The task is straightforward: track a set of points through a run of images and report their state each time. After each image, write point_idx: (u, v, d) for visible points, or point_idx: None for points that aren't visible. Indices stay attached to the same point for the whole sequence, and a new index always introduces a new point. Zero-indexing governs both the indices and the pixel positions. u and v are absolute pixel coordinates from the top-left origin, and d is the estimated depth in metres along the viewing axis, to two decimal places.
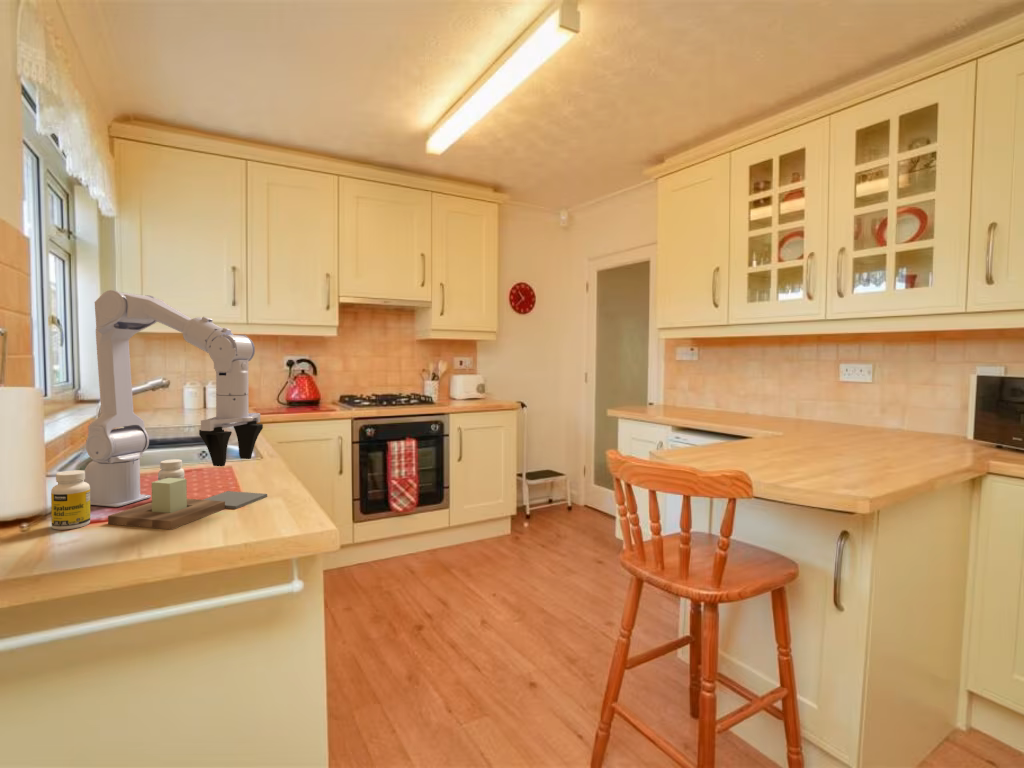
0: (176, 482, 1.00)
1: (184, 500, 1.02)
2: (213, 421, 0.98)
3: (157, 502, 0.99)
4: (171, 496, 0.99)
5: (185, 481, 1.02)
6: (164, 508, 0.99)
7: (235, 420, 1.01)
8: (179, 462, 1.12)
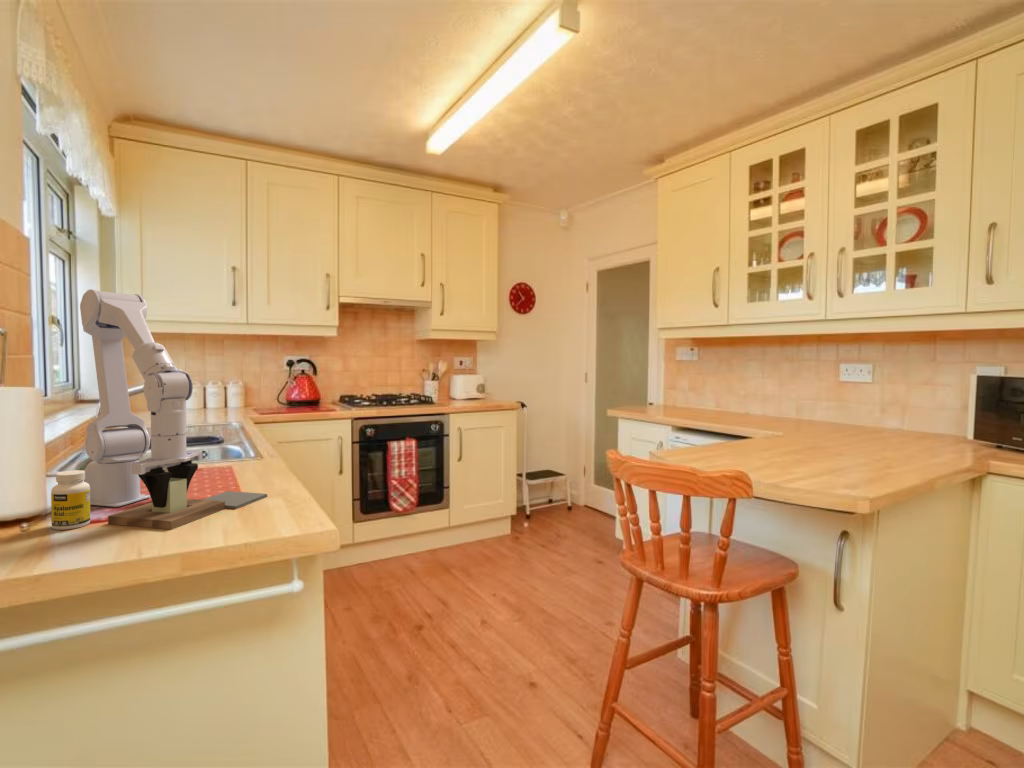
0: (176, 482, 1.00)
1: (184, 500, 1.02)
2: (144, 464, 0.94)
3: None
4: (171, 496, 0.99)
5: (185, 481, 1.02)
6: (164, 508, 0.99)
7: (170, 461, 0.98)
8: None
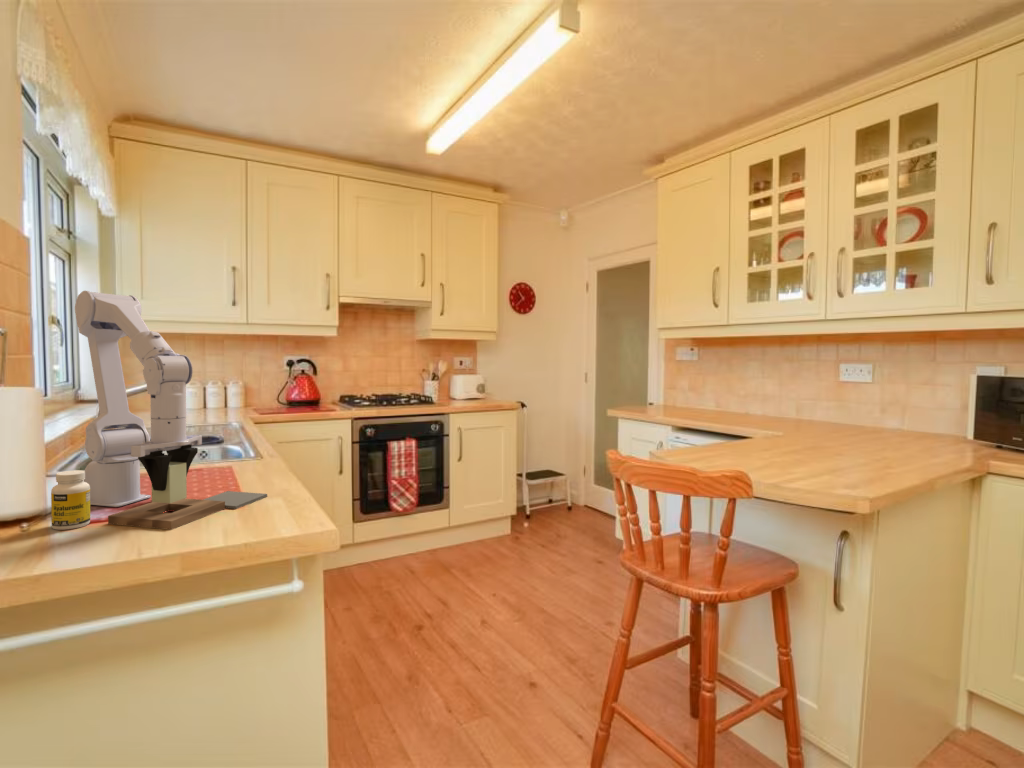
0: (176, 465, 1.00)
1: (184, 484, 1.02)
2: (144, 446, 0.94)
3: None
4: (171, 479, 0.99)
5: (185, 465, 1.02)
6: (164, 491, 0.99)
7: (170, 444, 0.98)
8: None
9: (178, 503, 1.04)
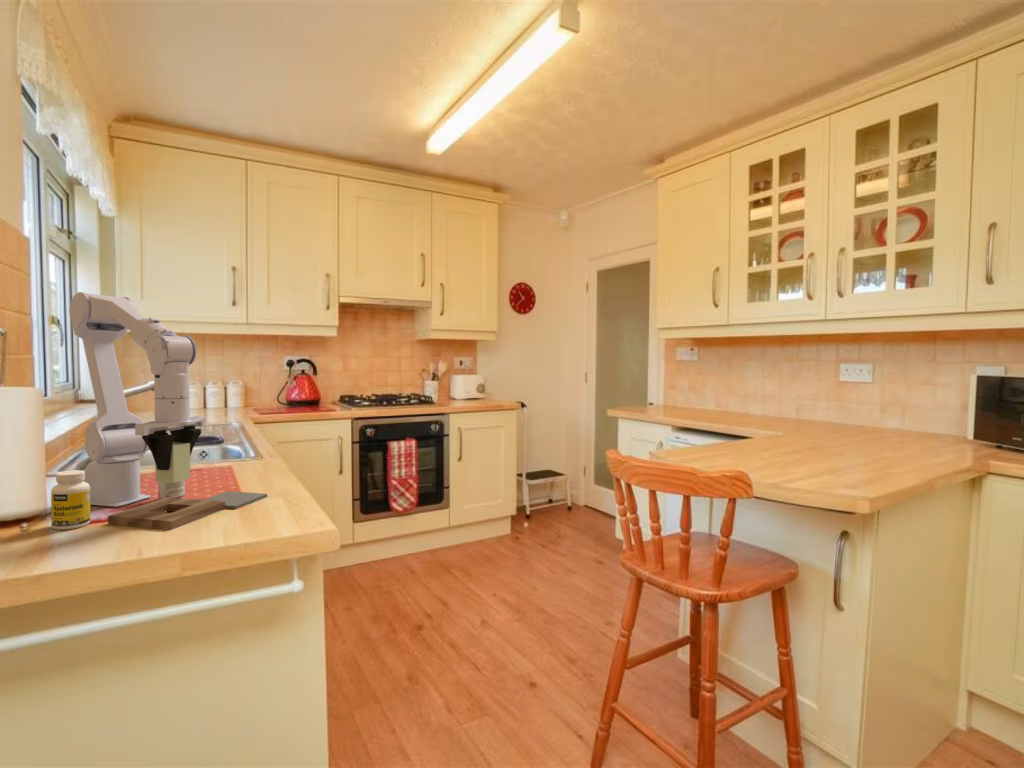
0: (179, 445, 1.00)
1: (187, 464, 1.02)
2: (148, 425, 0.94)
3: None
4: (175, 459, 0.99)
5: (188, 445, 1.02)
6: (168, 471, 0.99)
7: (173, 424, 0.98)
8: None
9: (178, 503, 1.04)
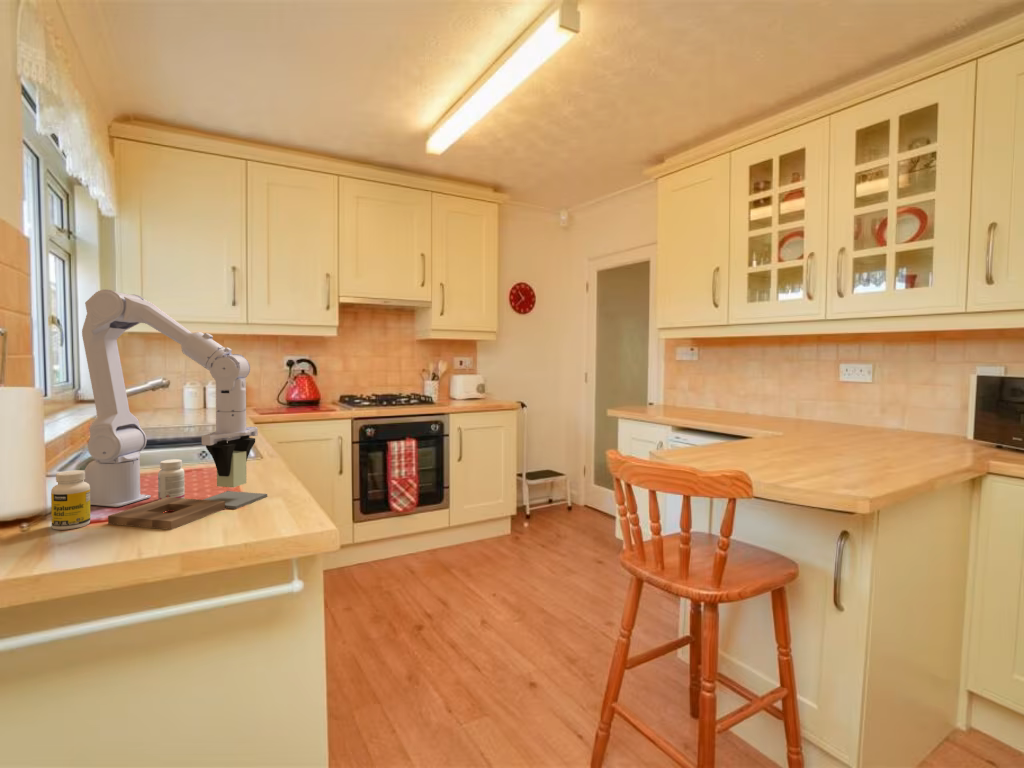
0: (238, 454, 1.11)
1: (244, 471, 1.13)
2: (213, 436, 1.05)
3: None
4: (234, 466, 1.10)
5: (245, 453, 1.13)
6: (228, 477, 1.10)
7: (233, 435, 1.09)
8: (179, 462, 1.12)
9: (178, 503, 1.04)
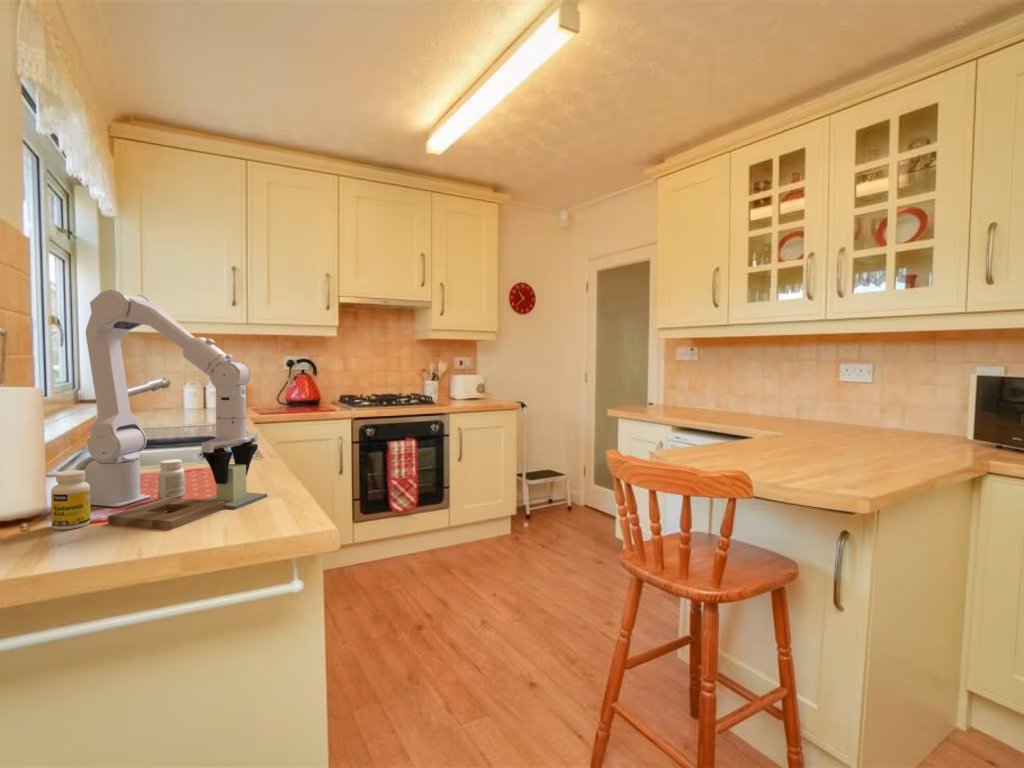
0: (238, 467, 1.11)
1: (244, 484, 1.13)
2: (213, 443, 1.05)
3: (221, 486, 1.10)
4: (234, 480, 1.10)
5: (245, 467, 1.13)
6: (228, 491, 1.10)
7: (233, 441, 1.09)
8: (179, 462, 1.12)
9: (178, 503, 1.04)
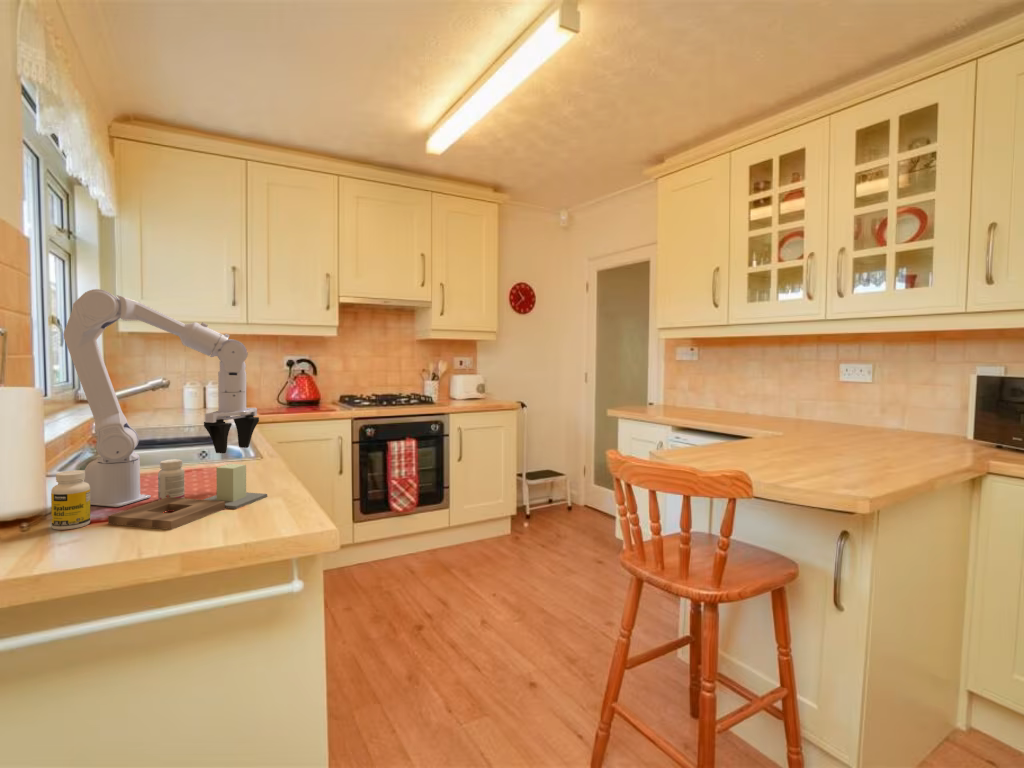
0: (238, 467, 1.11)
1: (244, 484, 1.13)
2: (216, 414, 1.14)
3: (221, 486, 1.10)
4: (234, 480, 1.10)
5: (245, 467, 1.13)
6: (228, 491, 1.10)
7: (235, 413, 1.17)
8: (179, 462, 1.12)
9: (178, 503, 1.04)
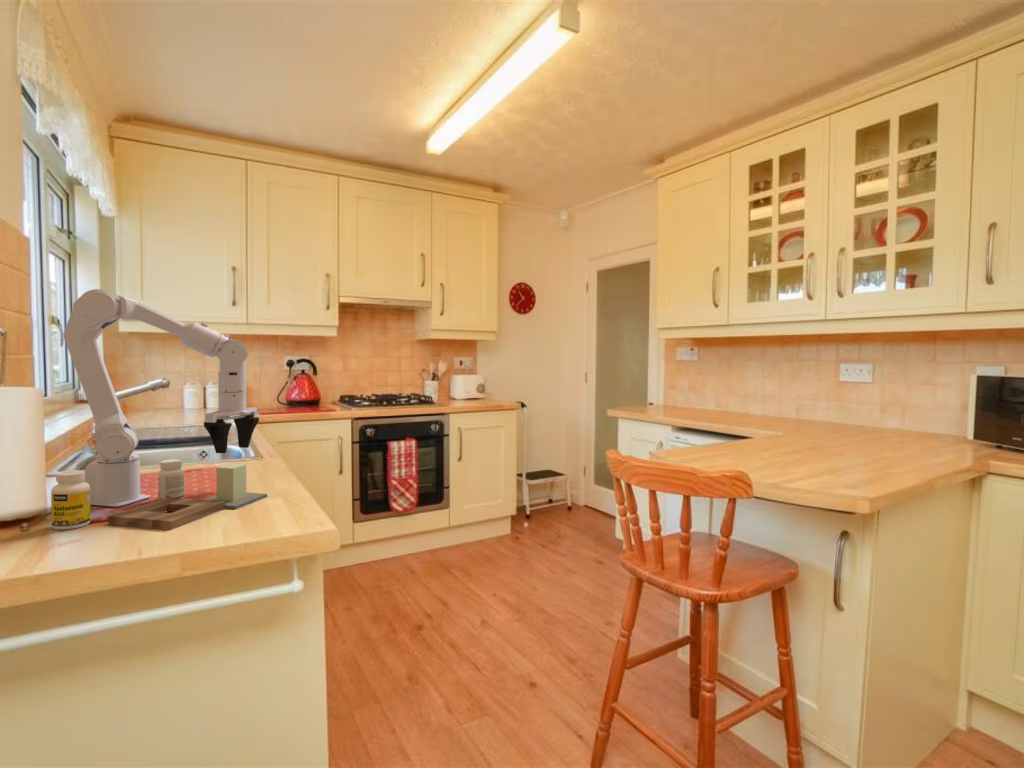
0: (238, 467, 1.11)
1: (244, 484, 1.13)
2: (216, 414, 1.14)
3: (221, 486, 1.10)
4: (234, 480, 1.10)
5: (245, 467, 1.13)
6: (228, 491, 1.10)
7: (235, 413, 1.18)
8: (179, 462, 1.12)
9: (178, 503, 1.04)
